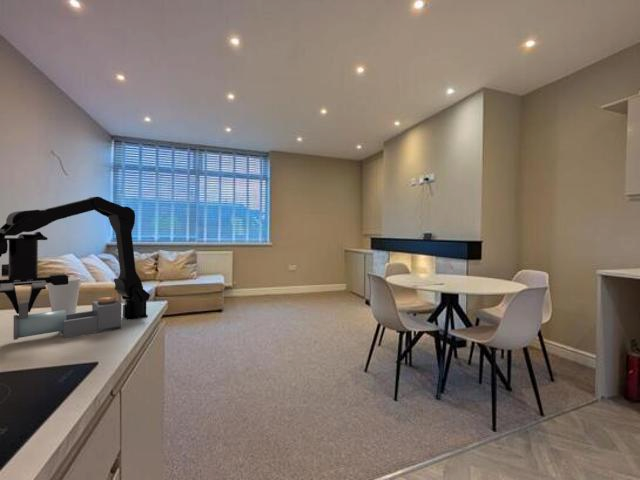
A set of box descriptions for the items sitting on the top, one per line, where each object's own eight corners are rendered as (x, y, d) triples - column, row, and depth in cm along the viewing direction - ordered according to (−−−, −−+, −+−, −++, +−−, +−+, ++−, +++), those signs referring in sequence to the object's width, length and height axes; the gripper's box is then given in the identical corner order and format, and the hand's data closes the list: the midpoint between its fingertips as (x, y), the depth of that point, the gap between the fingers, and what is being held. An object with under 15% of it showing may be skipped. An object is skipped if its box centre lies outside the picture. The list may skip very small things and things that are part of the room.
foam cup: (79, 309, 117) (79, 276, 117) (82, 314, 110) (82, 279, 110) (46, 314, 110) (46, 278, 110) (47, 319, 104) (47, 282, 103)
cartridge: (63, 328, 92) (64, 295, 92) (66, 333, 88) (66, 299, 87) (13, 336, 84) (13, 301, 84) (13, 342, 80) (13, 305, 80)
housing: (113, 321, 103) (114, 298, 103) (121, 328, 96) (121, 304, 96) (60, 330, 93) (60, 305, 93) (63, 339, 86) (64, 311, 86)
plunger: (113, 308, 100) (113, 296, 100) (116, 311, 97) (116, 298, 97) (96, 310, 97) (96, 298, 97) (99, 313, 94) (99, 300, 94)
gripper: (64, 253, 95) (63, 302, 96) (-26, 255, 82) (-26, 312, 82) (68, 256, 87) (68, 309, 88) (-30, 258, 74) (-30, 321, 74)
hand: (23, 312), depth 83 cm, fingers closed on cartridge, 2 cm apart
